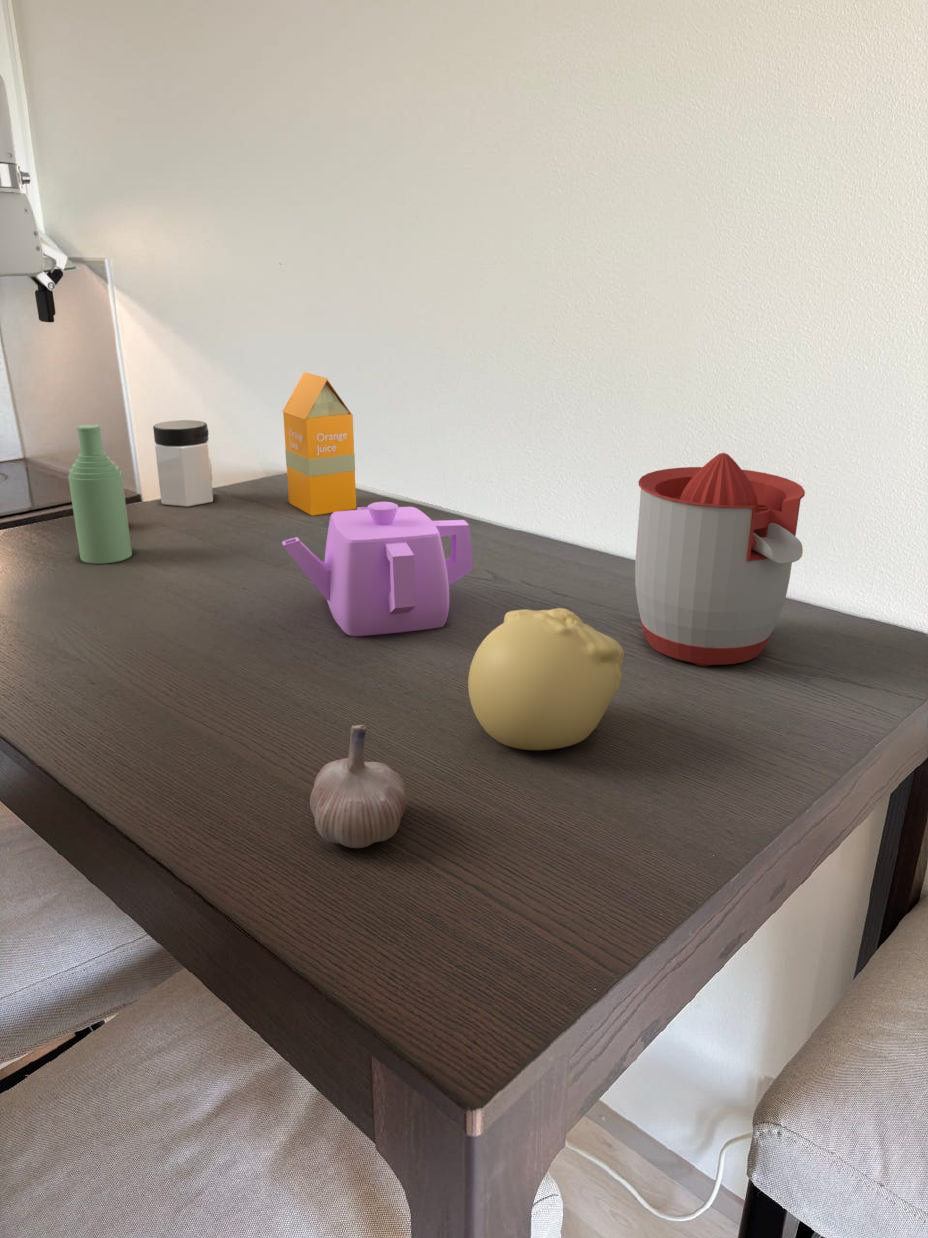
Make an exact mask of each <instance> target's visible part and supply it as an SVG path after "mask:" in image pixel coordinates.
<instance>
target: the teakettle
mask: <svg viewBox="0 0 928 1238" xmlns="http://www.w3.org/2000/svg"><path fill="white" fill-rule="evenodd" d="M328 522H329V523H328V528H327V529H328V530H327V534H326V535H327V536H326V543H325V553H324V560H323V561H322V560H321V559H320V558H319V557H318V556H317V555H315V553H314V552H312V551H311V549H310V548H308V547H307V546H306V545H305V543H303V542H302V541H301V540H300V539H299V537H298V536H295V537H292V538H289V539H285V540H283V541H281V544H282V547H283V549H285V551H286V553H288V554H289V556H290V557H291V558H292V559H293V561H294V562H295V563H296V564H297V566H298V567H299V568H300V569H301V571H302V572H303V573H304V574H305V575H306V577H307V579H309V581H311V583H312V584H313V585H314V587H315V588H316V589H317V590H318V592H319V593H320V594H321V595H322V596H323V598H324V599H325V600H326V602H327V606H328V608H329V611H330V614H331V615H332V618H333V620H334V621H335V622H336V624H337V625H338V626H339V628H340V629H341V631H343V632H344V633H345V634H346V635H349V636H350V637H368V636H379V635H391V634H400V633H408V632H418V631H426V630H432V629H439V628H440V629H441V628H443V627H444V626H445V625H446V622H447V619H448V615H449V612H450V587H449V586H451V585H452V584H453V583H455V582H457V581H459V580H460V579H462V578H463V577H465V576H466V575H469V574H470V573H471V572H473V571H474V562H473V552H472V539H471V529H470V524H469V523H468V522H467V521H466V520H465V519H453V520H452V519H448V520H446V519H444V520H432V519H431V518H430V517H429V516H428V515H426V513H424V512H423V511H422V510H421V509H419V508H417V507H415V506H399V505H398V504H397V503H394V502H391V501H376V502H372V503H370V504H368V505H367V506H360V507H359V506H356V509H351V510H345V511H338V512H332V513H330V517H329V521H328ZM443 537H451V544H450V545H451V549H450V550H451V555H450V557H448V558H446V557H445V551H444V548H443V547H444V546H443V542H442V538H443Z"/></svg>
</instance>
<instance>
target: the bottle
mask: <svg viewBox="0 0 928 1238" xmlns="http://www.w3.org/2000/svg"><path fill="white" fill-rule="evenodd" d="M76 430H77V435H78V441H79V449H80V453H79V454H77V456H78V458H76V459H74V460H75V461H74V463H73V464H72V465H71V468H70V469H69V470H68V475H67V479H68V485H69V491H70V493H69V494H70V498H71V499H70V500H71V505H72V512H73V519H74V526H75V531H76V539H77V545H78V551H79V556H80V557H79V559H80V561H81V562H84V563H87V564H95V565H97V564H98V565H99V564H100V565H101V564H102V565H103V564H104V565H105V564H113V563H118V562H122V561H124V560H125V561H126V560H127V559H129V558H131V556H132V555H133V549H132V542H131V535H130V534H131V533H130V527H129V520H128V519H129V518H128V512H127V511H128V510H127V503H126V496H125V495H126V494H125V488H124V481H123V480H124V479H123V473H122V471H121V470H120V466H119V465H117V464H116V462H115V461H114V460H112V459H111V457H110V456H107V453H106V451H104V448H103V441H102V436H101V435H102V433H101V430H102V429H101V427H100V425H99V424H95V423H94V424H93V423H92V424H91V423H90V424H80V425H78V426H77V427H76Z"/></svg>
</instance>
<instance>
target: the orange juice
mask: <svg viewBox="0 0 928 1238" xmlns="http://www.w3.org/2000/svg"><path fill="white" fill-rule="evenodd" d="M281 412H282V414H283V429H284V444H285V449H284V451H285V463H286V464H285V466H286V475H287V476H286V477H287V490H288V491H287V493H288V503H289V504H290V505H292V506H294V507H295V508H297V509H299V510H300V511H302V512H305V513H306V514H308V515H310V516H318V515H324V514H325V515H326V514H332V513H334V512H339V511H350V510H357V491H356V459H355V456H356V455H355V440H354V415H353V413H352V412H351V411H350V410H349V408H348V407H347V405H346V404H345V402H344V401H343V400H342V398H341V397H340V395H339V394H338V393H337V391H336V390H335V388H334V387H333V386H332V384H331V382H330V381H329V378H328V377H324V376H320V375H316V374H313V373H309V372H307V371H306V372H305V371H303V372H302V374H301V376H300V378H299V380H298V382H297V384H296V385H295V387H294V389H293V391H292V393H291V395H290V396H289V398H288V400H287V402H286V403H285V405H284V407H283V409H282V411H281Z"/></svg>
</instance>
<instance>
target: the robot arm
mask: <svg viewBox="0 0 928 1238" xmlns="http://www.w3.org/2000/svg"><path fill="white" fill-rule="evenodd" d="M10 112H11V111H10V106H9V98H8V93H7V87H6V83H5V80H4V79H3V76H2V75H1V74H0V277H1V278H2V277H4V278H5V277H27V278H29V280H31V282H32V283H34V285H35V286H36V287H37V289H36V290H35V291H34V296H35V303H36V309H37V315H38V320H39V321H40V322H43V323H54V322H55V317H54V316H55V315H56V306H55V305H56V304H55V299H54V298H55V297H54V292H53V291H55V290H56V288H57V285H58V284H59V282H60V281H61V279H62V278H63V277H64V271H65V268H66V265H67V262H68V260H69V259H68V256H67V255H66V254H65V253H63V252H61V251H59V250H57V249H55V248H53V247H52V246H50V245H47V244H46V243H45V242H42V239H41V236H40V231H39V228H38V223H37V220H36V217H35V213H34V210H33V207H32V204H31V201H30V199H29V196H28V194H27V193H23V192H22V189H23V188H24V187H23V185H29V184H30V183H31V175H30V173H29V172H23V171H22V170H21V169H20V165H18V158H17V152H16V146H15V145H16V144H15V138H14V133H13V126H12V119H11V113H10ZM45 257H46V258H47V259H49V260H50V261H51V262H52V263H51V268H50V269H49V270H48V272H47V273H46V272H45V271H44V270H45Z"/></svg>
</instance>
